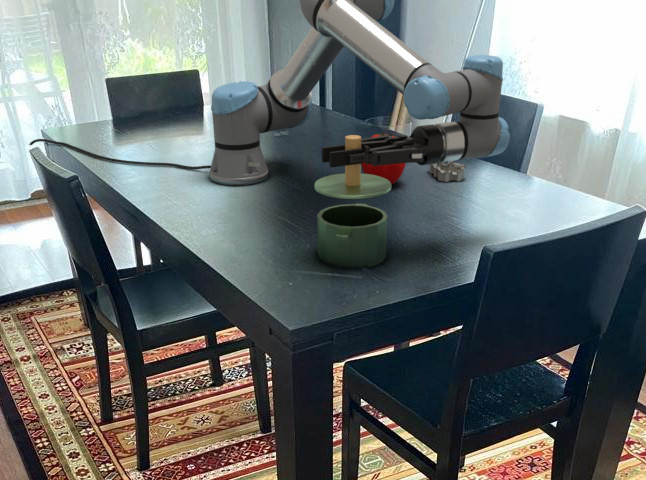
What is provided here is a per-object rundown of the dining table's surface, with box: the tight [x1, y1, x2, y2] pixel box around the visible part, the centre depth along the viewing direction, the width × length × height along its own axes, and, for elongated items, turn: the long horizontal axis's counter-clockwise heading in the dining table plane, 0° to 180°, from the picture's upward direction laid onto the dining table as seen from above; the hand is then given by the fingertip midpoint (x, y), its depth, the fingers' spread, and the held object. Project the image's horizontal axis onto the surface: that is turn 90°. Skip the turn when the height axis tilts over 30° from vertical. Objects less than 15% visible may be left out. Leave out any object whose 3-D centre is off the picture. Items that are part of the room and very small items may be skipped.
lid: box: [313, 134, 392, 200], centre depth 145 cm, size 15×15×10 cm
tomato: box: [361, 131, 407, 186], centre depth 192 cm, size 12×12×13 cm
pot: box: [316, 202, 389, 269], centre depth 152 cm, size 14×19×8 cm
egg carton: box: [429, 161, 467, 183], centre depth 200 cm, size 11×8×4 cm
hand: (326, 157), depth 142 cm, fingers closed on lid, 3 cm apart
